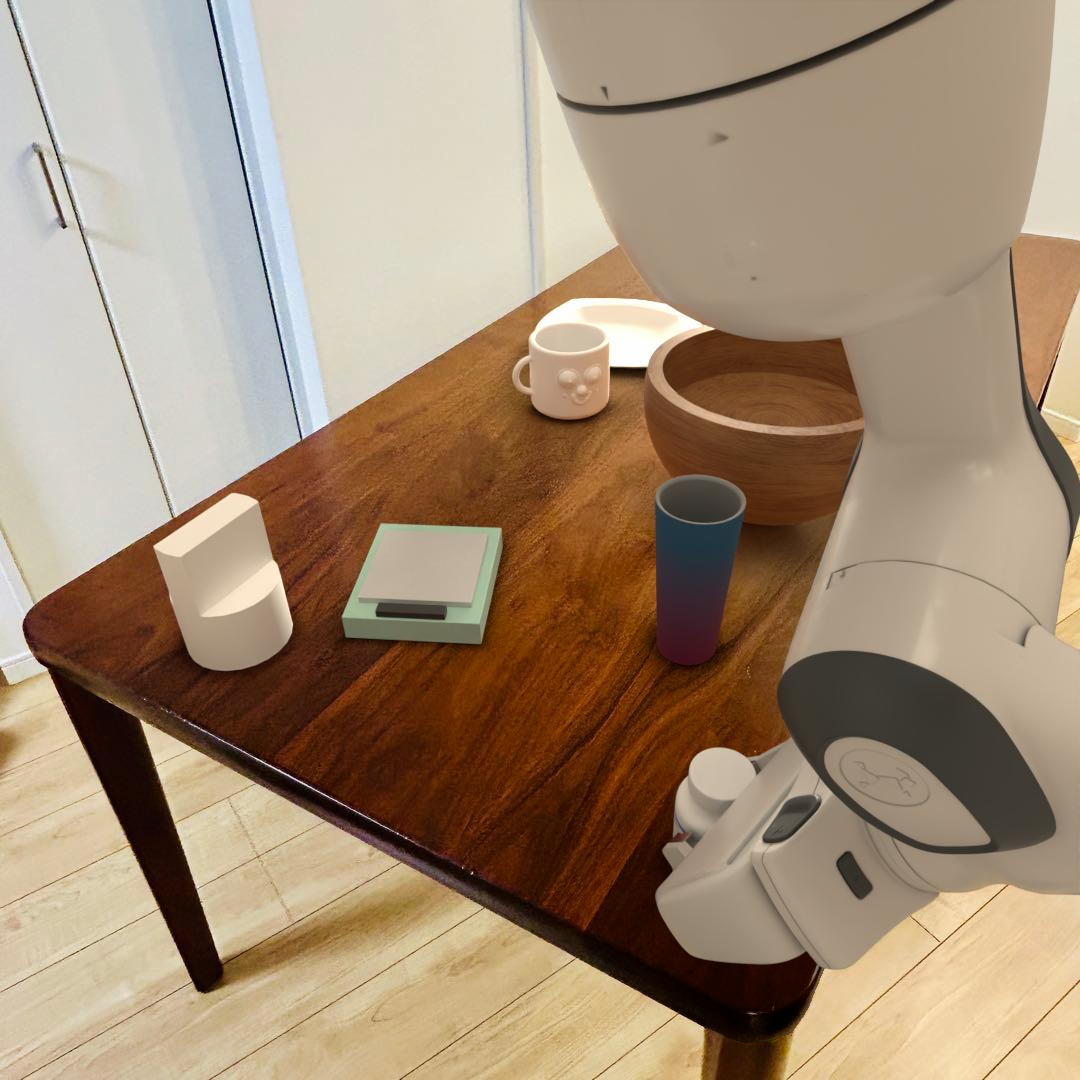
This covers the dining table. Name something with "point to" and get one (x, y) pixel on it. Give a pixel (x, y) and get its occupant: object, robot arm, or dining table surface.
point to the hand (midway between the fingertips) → (709, 812)
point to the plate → (625, 325)
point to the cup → (694, 562)
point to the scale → (425, 584)
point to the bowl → (756, 419)
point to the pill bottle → (710, 789)
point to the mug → (567, 369)
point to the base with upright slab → (226, 586)
